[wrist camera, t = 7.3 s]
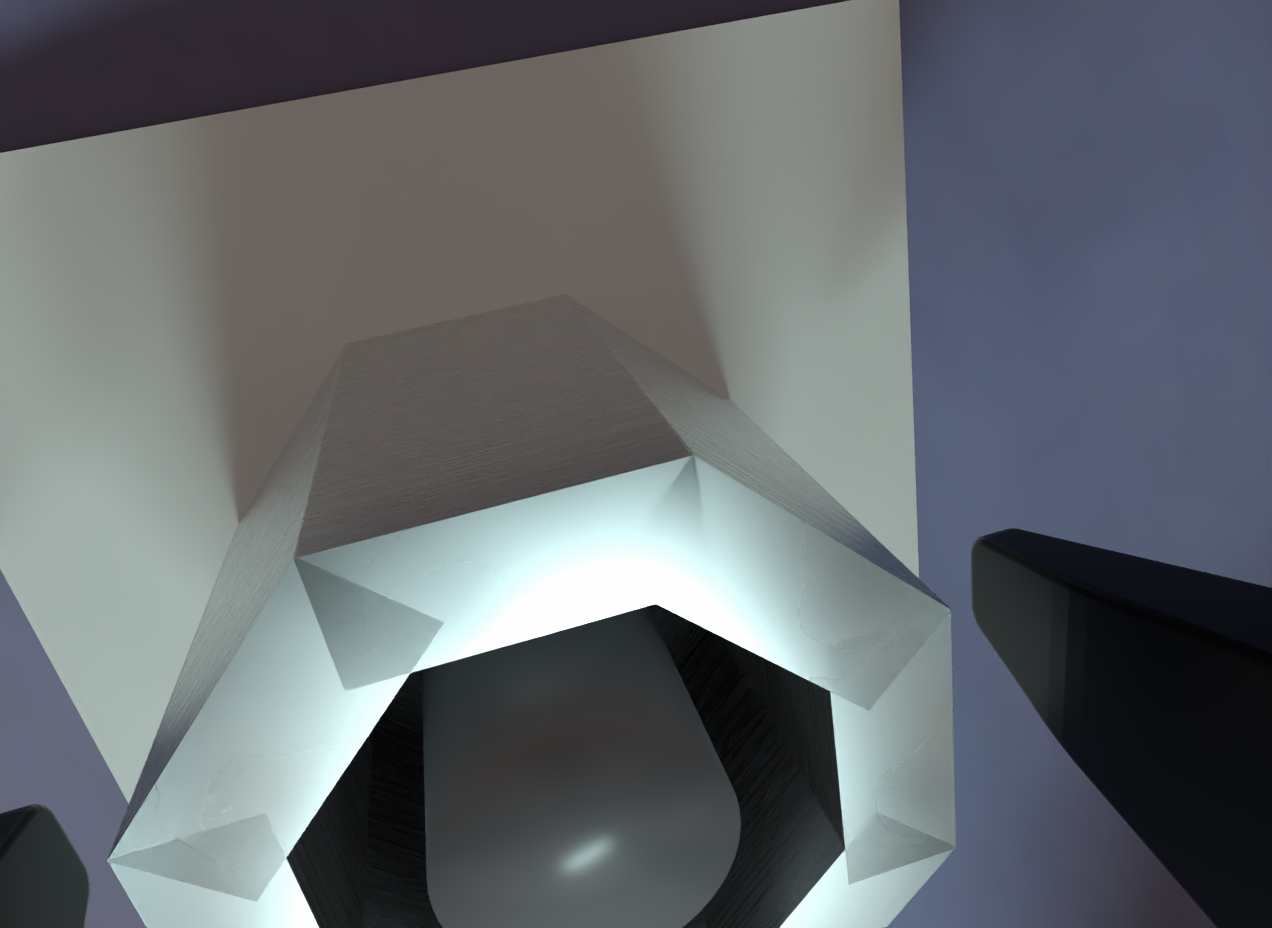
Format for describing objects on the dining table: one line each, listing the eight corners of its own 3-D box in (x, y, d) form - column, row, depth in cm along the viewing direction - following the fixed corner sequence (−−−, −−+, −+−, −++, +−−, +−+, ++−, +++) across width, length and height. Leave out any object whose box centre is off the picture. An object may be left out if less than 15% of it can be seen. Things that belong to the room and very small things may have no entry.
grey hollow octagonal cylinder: (766, 670, 13) (958, 979, 8) (349, 794, 12) (315, 1216, 7) (712, 260, 10) (946, 389, 6) (180, 380, 9) (-25, 638, 5)
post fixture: (894, 715, 15) (1163, 1057, 10) (236, 918, 14) (123, 1463, 8) (857, 1, 11) (1323, -96, 5) (-147, 180, 9) (-978, 310, 4)
